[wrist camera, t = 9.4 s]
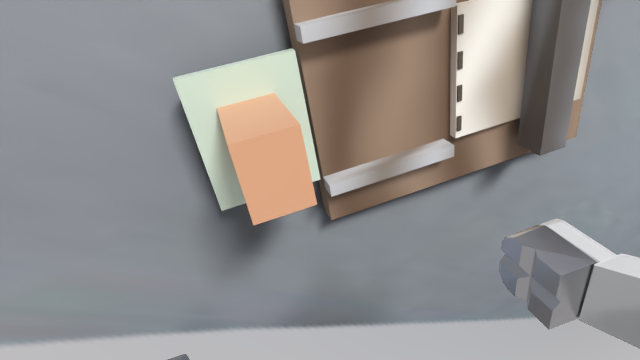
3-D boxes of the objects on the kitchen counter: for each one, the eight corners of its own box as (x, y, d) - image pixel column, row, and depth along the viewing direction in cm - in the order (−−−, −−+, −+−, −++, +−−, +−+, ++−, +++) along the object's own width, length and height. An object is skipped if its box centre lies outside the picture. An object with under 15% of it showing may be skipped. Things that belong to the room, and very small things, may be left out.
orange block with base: (291, 48, 20) (327, 71, 15) (317, 175, 23) (352, 224, 19) (173, 77, 18) (171, 112, 14) (220, 205, 22) (232, 266, 18)
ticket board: (597, -100, 23) (671, -114, 19) (559, 130, 30) (608, 149, 27) (275, -35, 19) (296, -37, 16) (324, 208, 27) (345, 243, 23)
